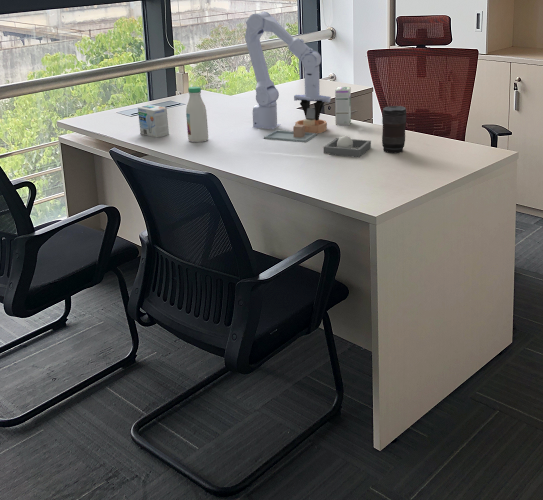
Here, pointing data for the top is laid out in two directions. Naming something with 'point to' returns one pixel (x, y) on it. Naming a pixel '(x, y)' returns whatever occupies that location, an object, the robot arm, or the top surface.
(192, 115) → the milk bottle
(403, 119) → the camera lens
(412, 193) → the top surface
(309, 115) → the plain grey cube
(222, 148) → the top surface
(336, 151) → the grey square tray
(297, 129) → the cardboard tan cube
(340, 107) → the syrup box
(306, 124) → the cream matte cube
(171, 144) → the top surface
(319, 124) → the bowl
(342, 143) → the pale grey egg
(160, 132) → the light bulb box
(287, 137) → the parts tray
